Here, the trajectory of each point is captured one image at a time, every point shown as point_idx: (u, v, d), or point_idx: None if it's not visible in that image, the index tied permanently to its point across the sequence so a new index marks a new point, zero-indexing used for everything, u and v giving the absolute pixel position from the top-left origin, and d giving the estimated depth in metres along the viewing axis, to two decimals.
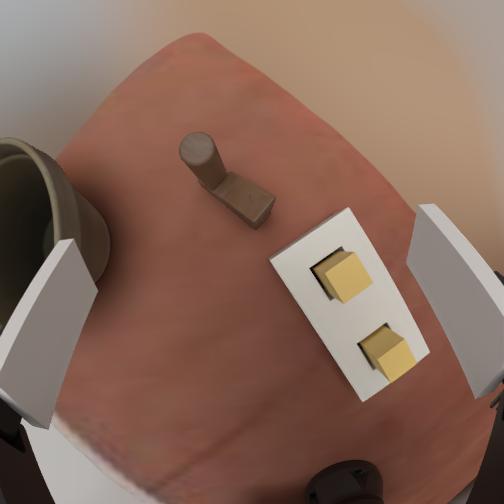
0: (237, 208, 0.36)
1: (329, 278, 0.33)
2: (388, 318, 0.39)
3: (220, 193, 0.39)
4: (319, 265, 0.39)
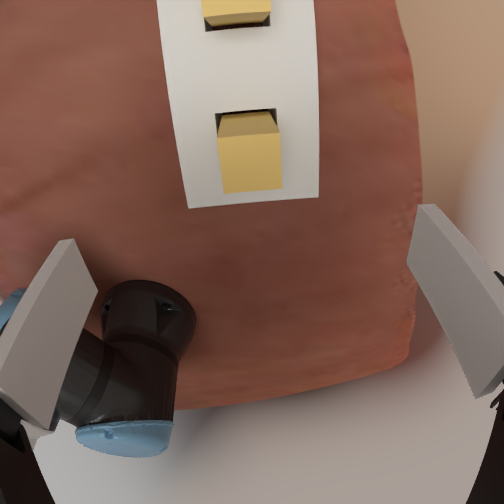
0: None
1: None
2: (281, 104, 0.24)
3: None
4: None
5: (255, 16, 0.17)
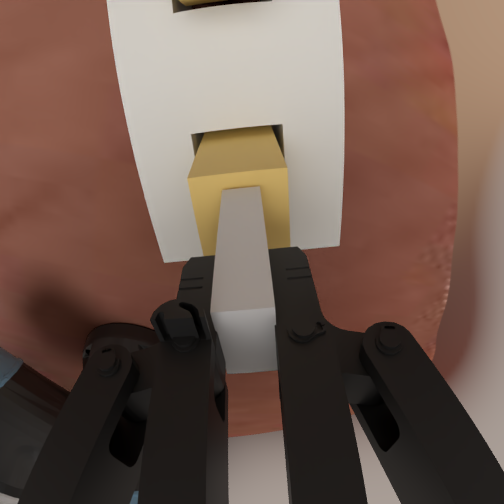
0: None
1: None
2: (289, 119, 0.16)
3: None
4: None
5: None
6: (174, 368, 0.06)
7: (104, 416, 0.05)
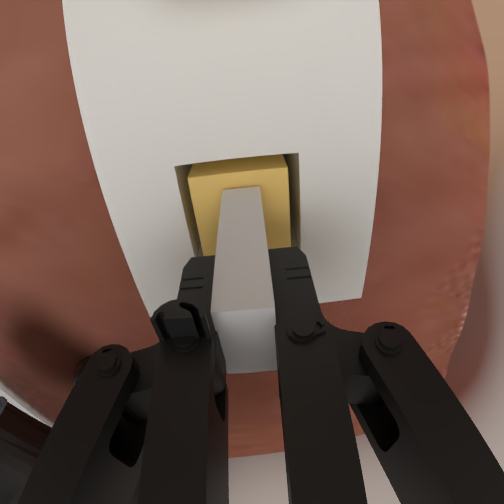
0: None
1: None
2: (308, 146, 0.12)
3: None
4: None
5: None
6: (174, 368, 0.06)
7: (104, 416, 0.05)
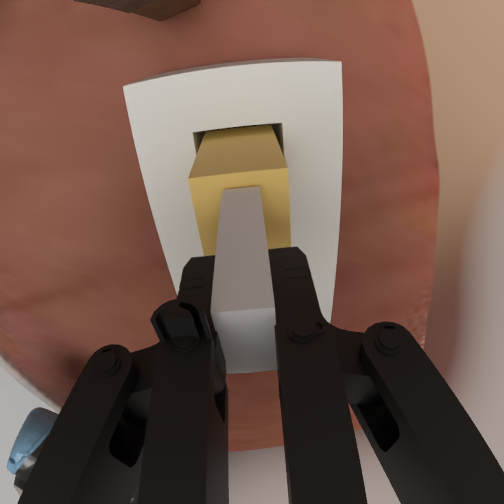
0: None
1: (194, 195, 0.13)
2: None
3: None
4: (217, 134, 0.18)
5: None
6: (174, 368, 0.06)
7: (104, 416, 0.05)
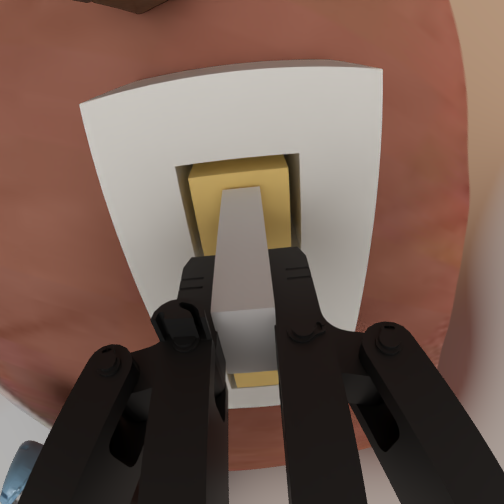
0: None
1: (194, 195, 0.13)
2: None
3: None
4: None
5: None
6: (174, 368, 0.06)
7: (104, 416, 0.05)
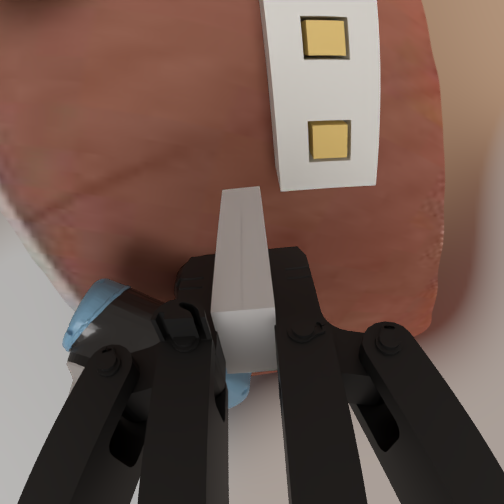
0: None
1: (307, 26, 0.26)
2: (354, 117, 0.32)
3: None
4: None
5: None
6: (174, 368, 0.06)
7: (104, 416, 0.05)
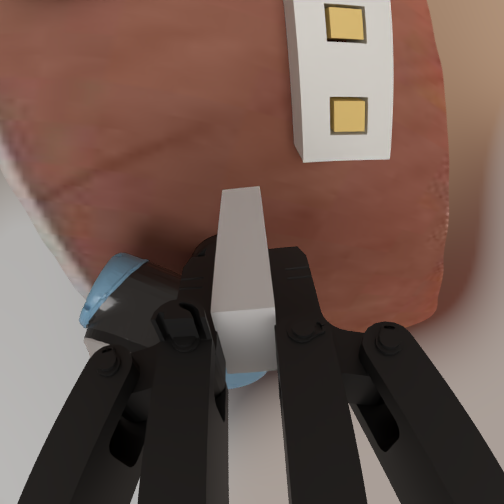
0: None
1: (330, 12, 0.27)
2: (371, 95, 0.34)
3: None
4: None
5: (350, 39, 0.31)
6: (174, 368, 0.06)
7: (104, 416, 0.05)
